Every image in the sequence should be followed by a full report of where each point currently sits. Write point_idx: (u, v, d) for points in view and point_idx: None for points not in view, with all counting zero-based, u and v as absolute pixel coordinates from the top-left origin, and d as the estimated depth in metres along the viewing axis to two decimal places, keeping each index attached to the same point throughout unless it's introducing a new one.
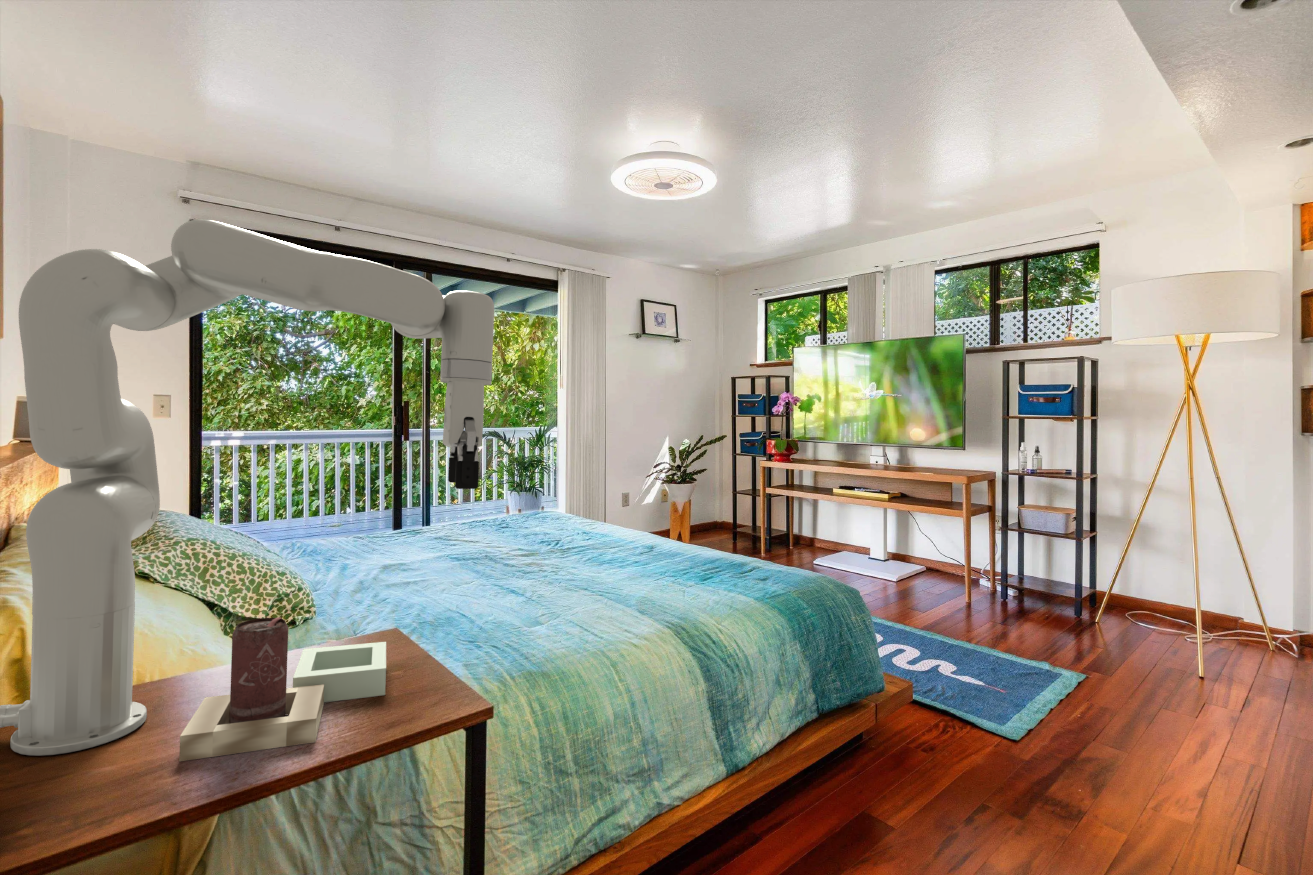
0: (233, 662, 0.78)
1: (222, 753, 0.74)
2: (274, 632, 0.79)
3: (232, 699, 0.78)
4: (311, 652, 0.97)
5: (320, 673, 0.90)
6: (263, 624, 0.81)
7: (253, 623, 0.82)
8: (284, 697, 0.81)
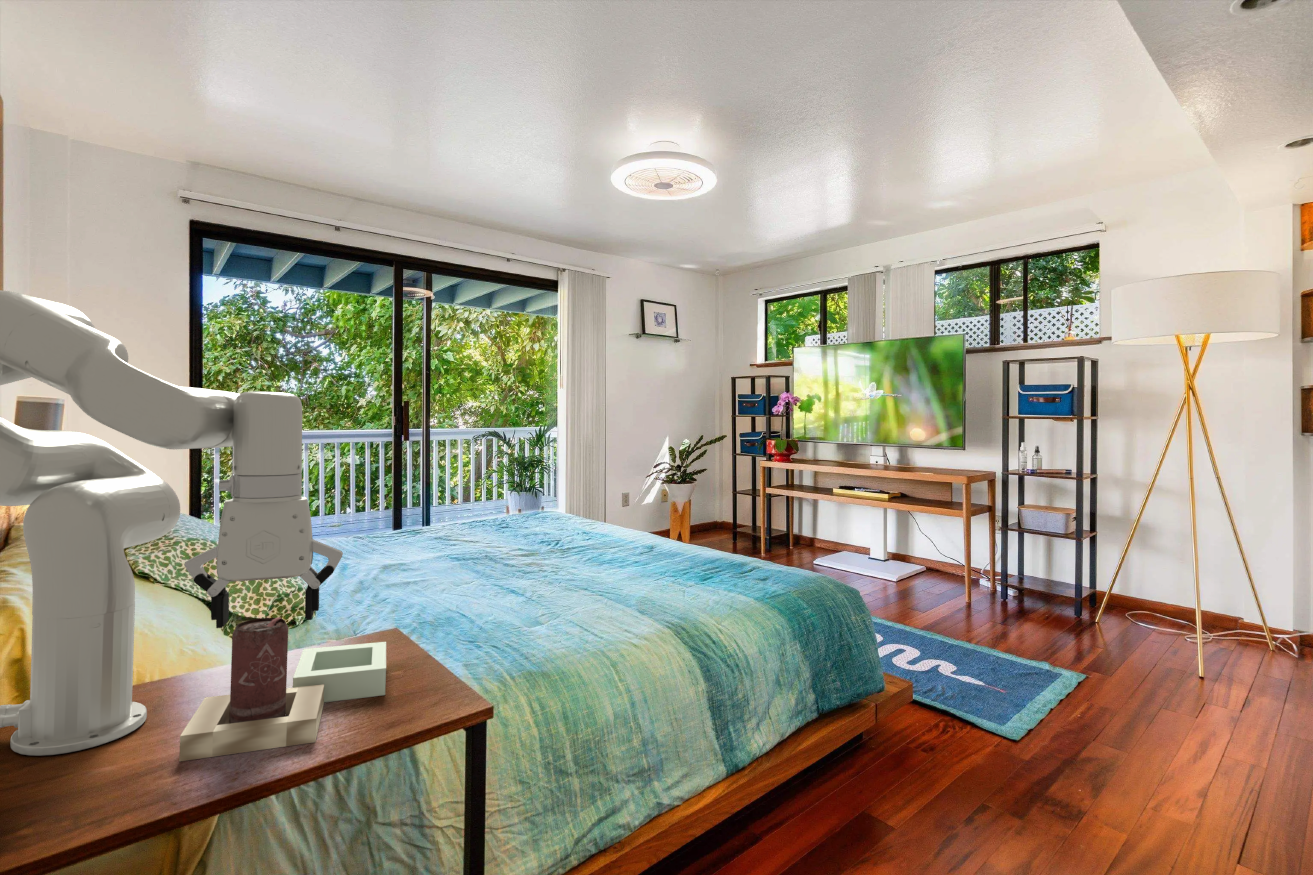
0: (233, 662, 0.78)
1: (222, 753, 0.74)
2: (274, 632, 0.79)
3: (232, 699, 0.78)
4: (311, 652, 0.97)
5: (320, 673, 0.90)
6: (263, 624, 0.81)
7: (253, 623, 0.82)
8: (284, 697, 0.81)
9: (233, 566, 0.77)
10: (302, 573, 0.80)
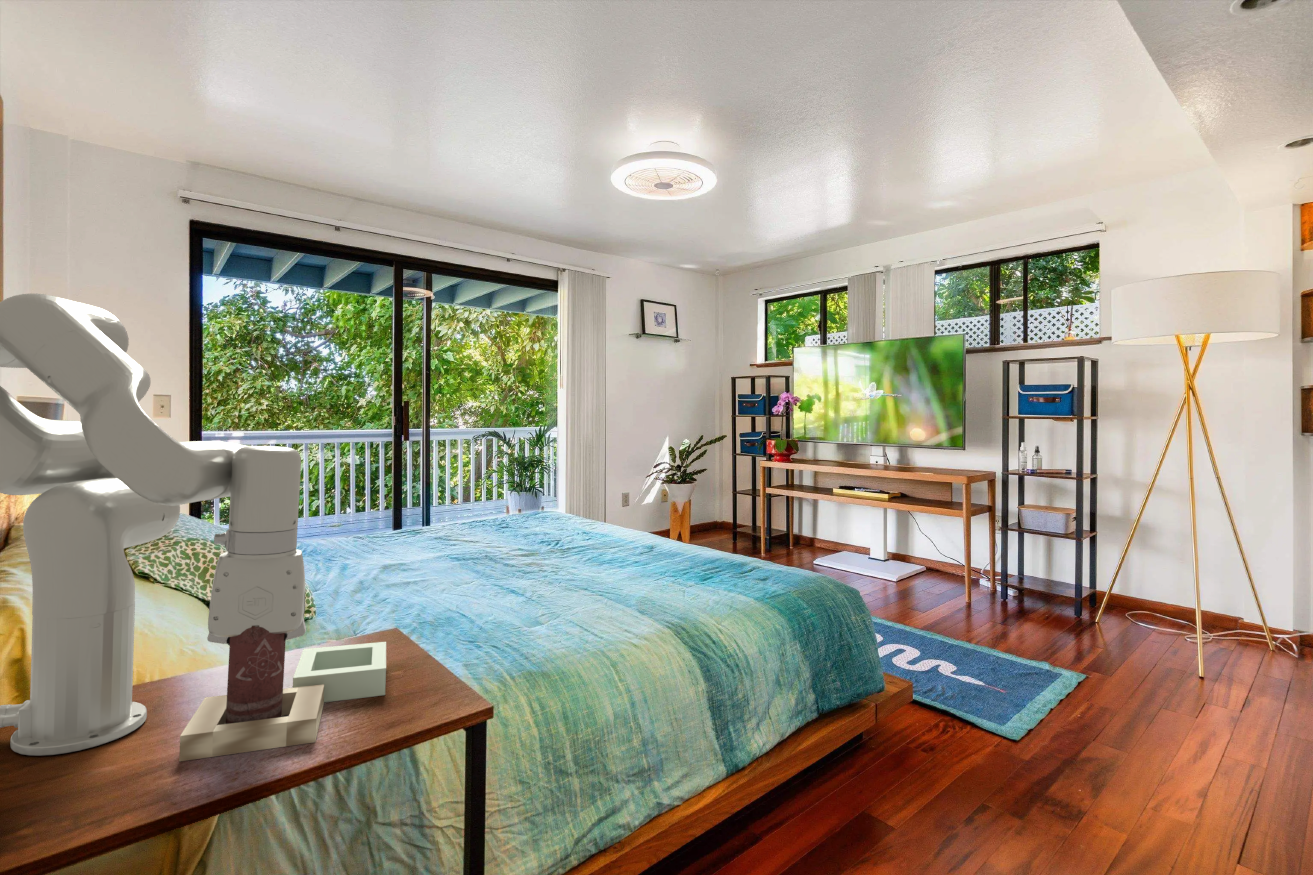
0: (231, 657, 0.78)
1: (222, 753, 0.74)
2: None
3: (229, 694, 0.78)
4: (311, 652, 0.97)
5: (320, 673, 0.90)
6: None
7: None
8: (281, 692, 0.81)
9: (224, 622, 0.77)
10: (293, 629, 0.80)
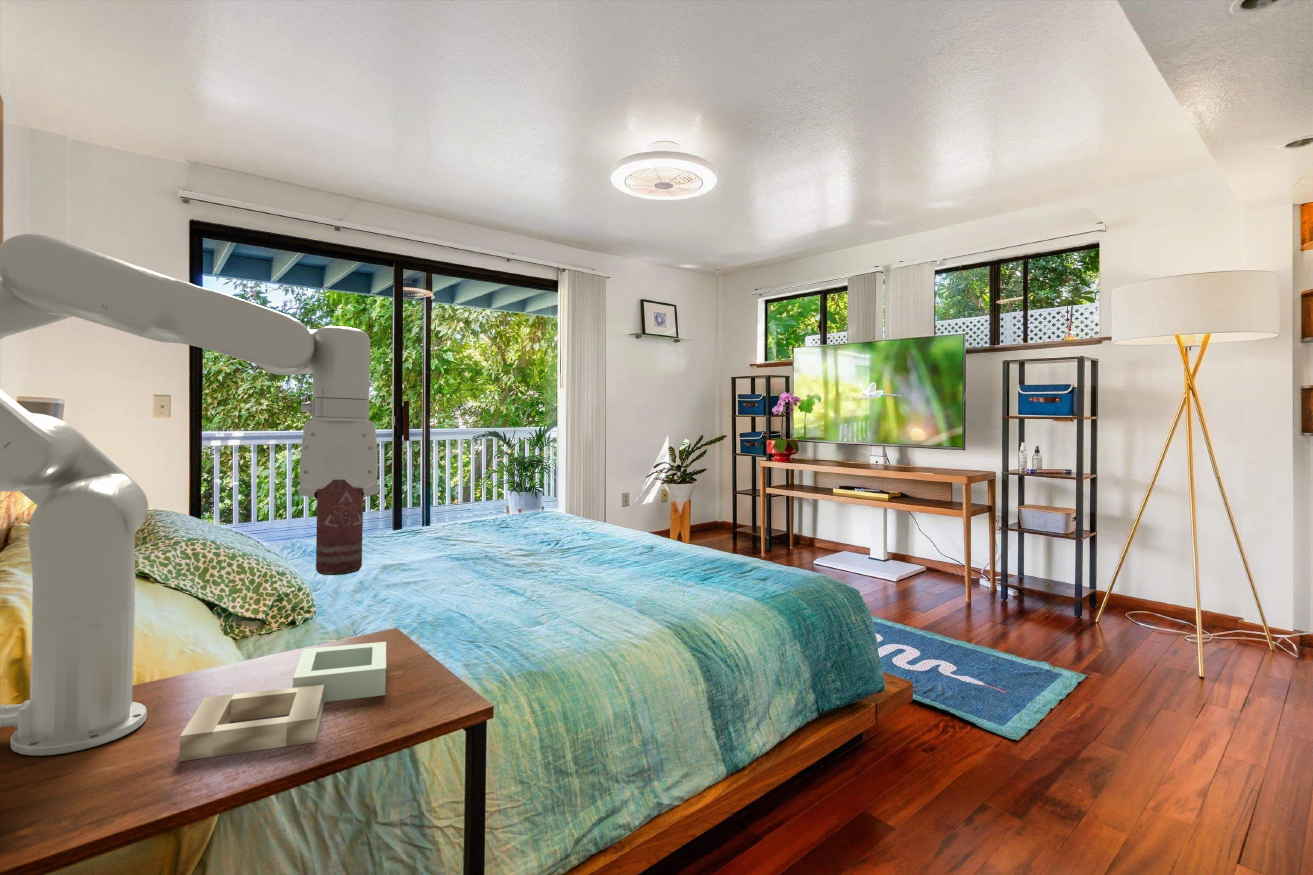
0: (319, 507, 0.90)
1: (222, 753, 0.74)
2: None
3: (318, 539, 0.91)
4: (311, 652, 0.97)
5: (320, 673, 0.90)
6: None
7: None
8: (361, 542, 0.94)
9: (313, 475, 0.89)
10: (370, 485, 0.92)
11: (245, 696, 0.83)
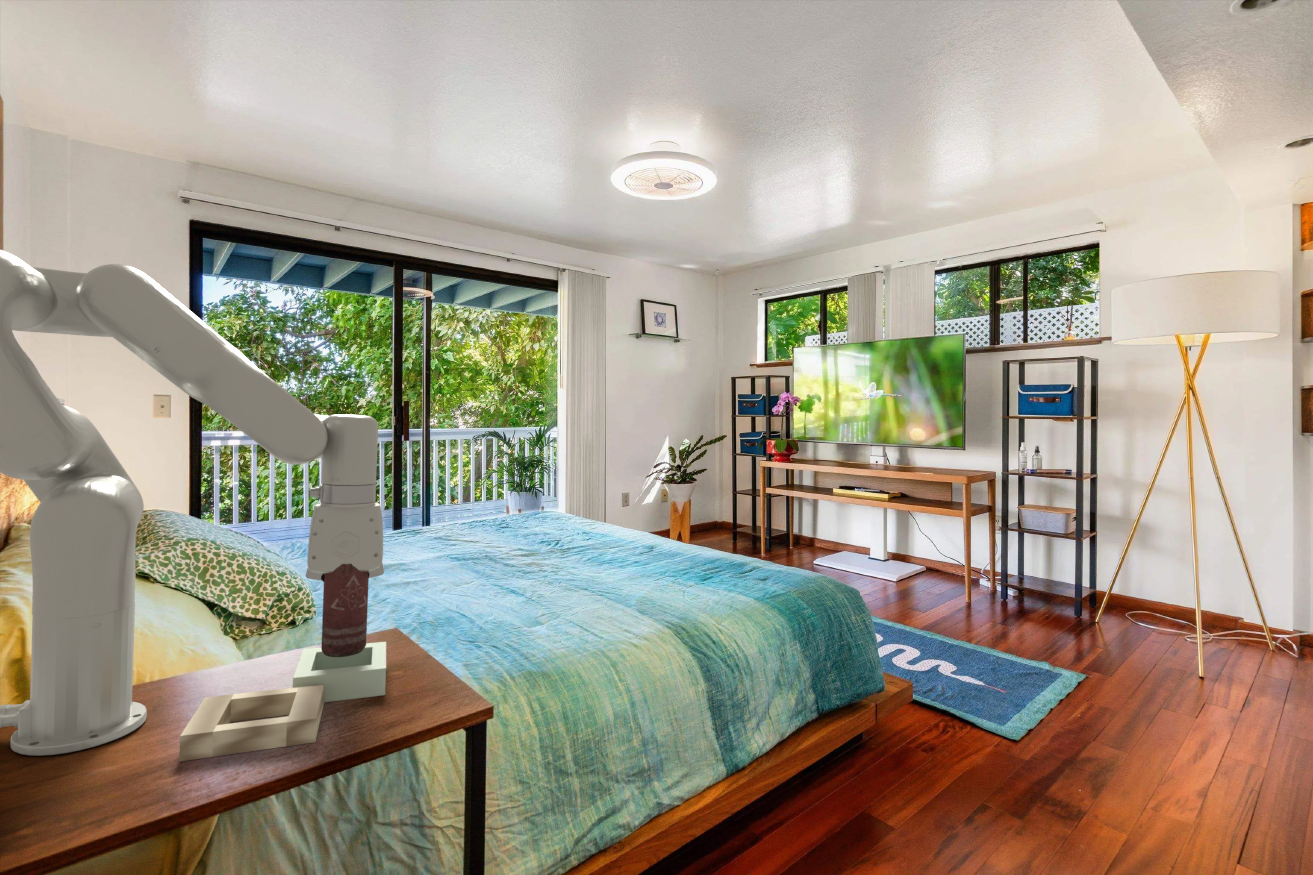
0: (326, 590, 0.93)
1: (222, 753, 0.74)
2: None
3: (325, 621, 0.93)
4: (311, 652, 0.97)
5: (320, 673, 0.90)
6: None
7: None
8: (366, 622, 0.96)
9: (321, 560, 0.92)
10: (376, 568, 0.95)
11: (245, 696, 0.83)
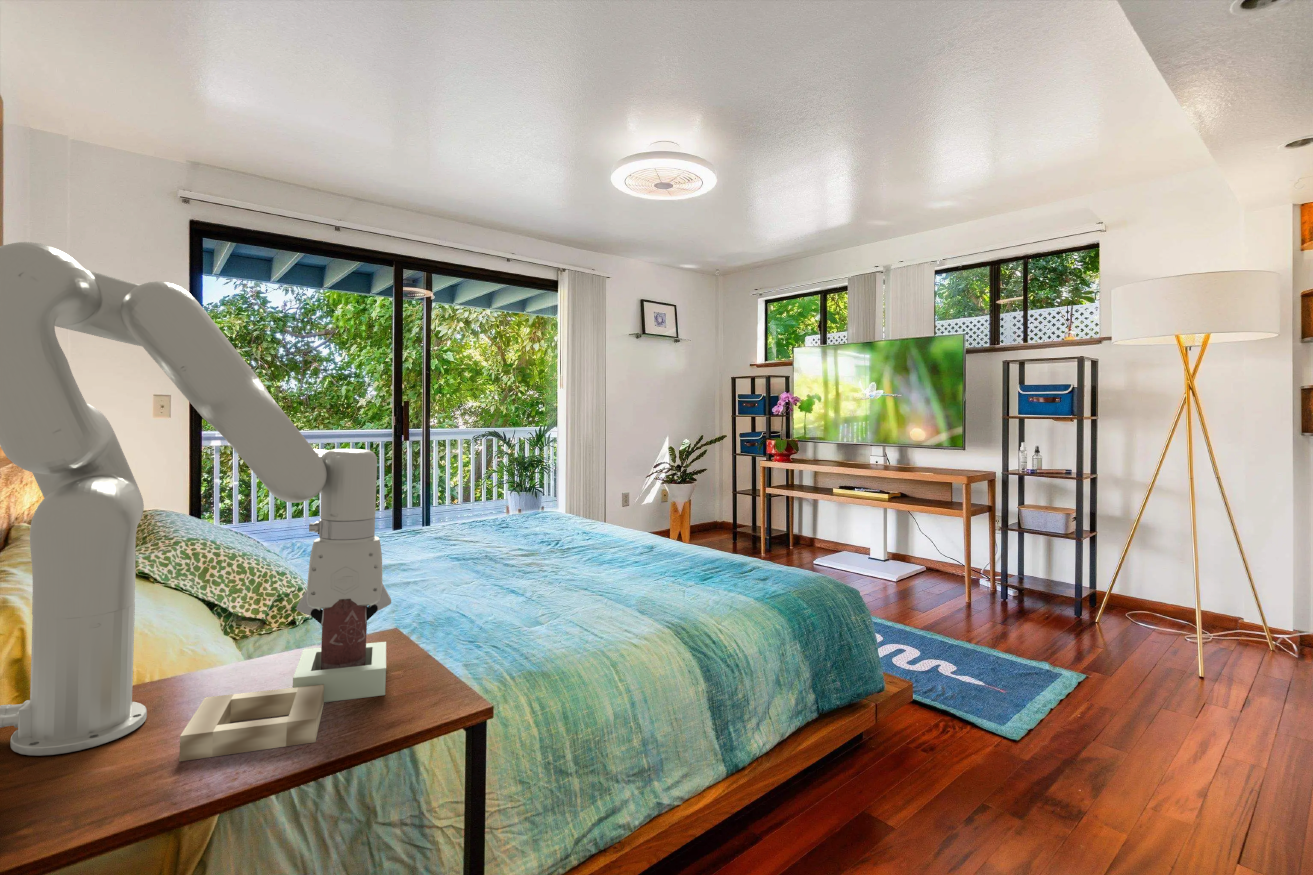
0: (324, 625, 0.93)
1: (222, 753, 0.74)
2: None
3: (323, 656, 0.93)
4: (311, 652, 0.97)
5: (320, 673, 0.90)
6: None
7: None
8: (364, 656, 0.96)
9: (320, 596, 0.92)
10: (375, 602, 0.95)
11: (245, 696, 0.83)
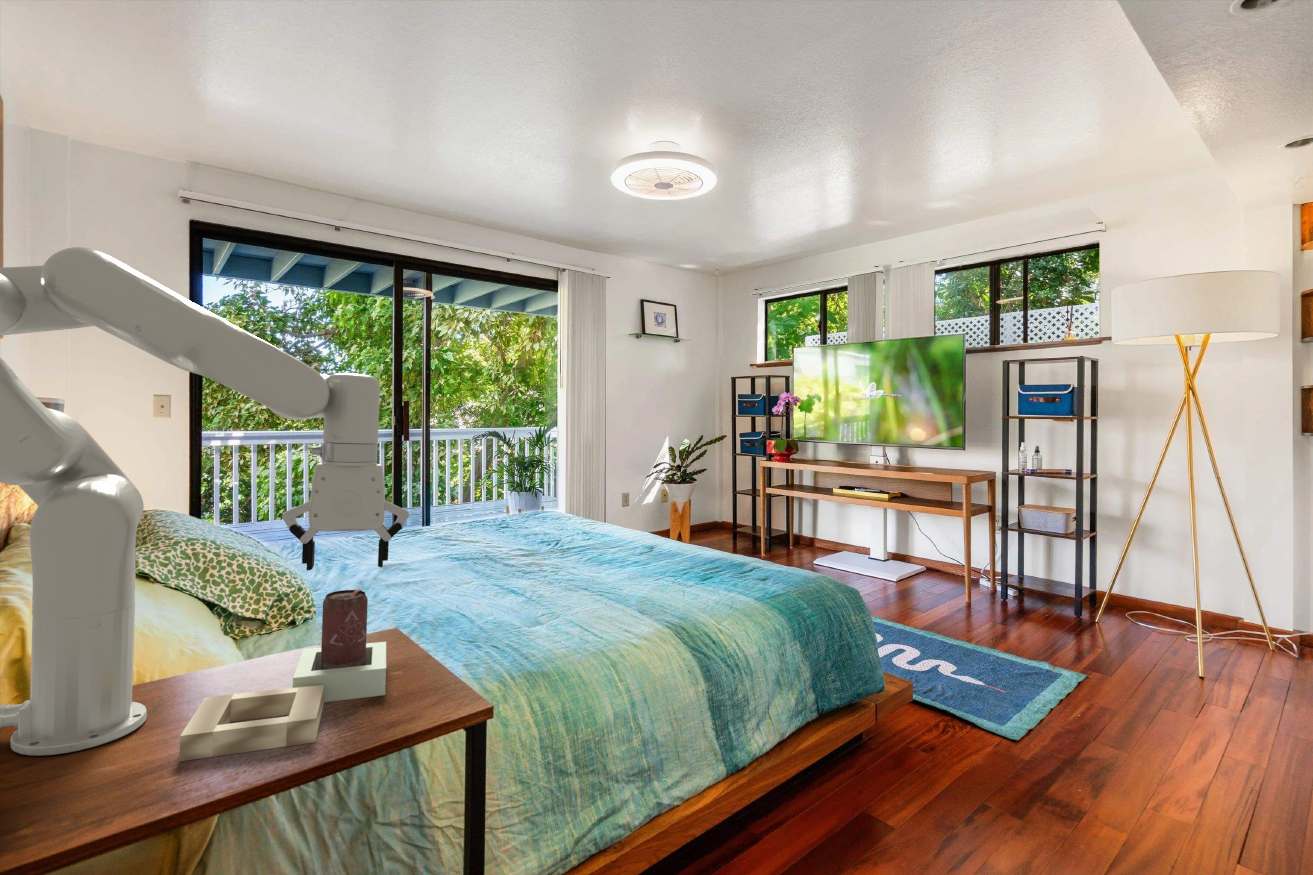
0: (324, 625, 0.93)
1: (222, 753, 0.74)
2: (358, 601, 0.94)
3: (323, 656, 0.93)
4: (311, 652, 0.97)
5: (320, 673, 0.90)
6: (347, 595, 0.96)
7: (338, 593, 0.97)
8: (364, 656, 0.96)
9: (322, 518, 0.92)
10: (377, 527, 0.95)
11: (245, 696, 0.83)
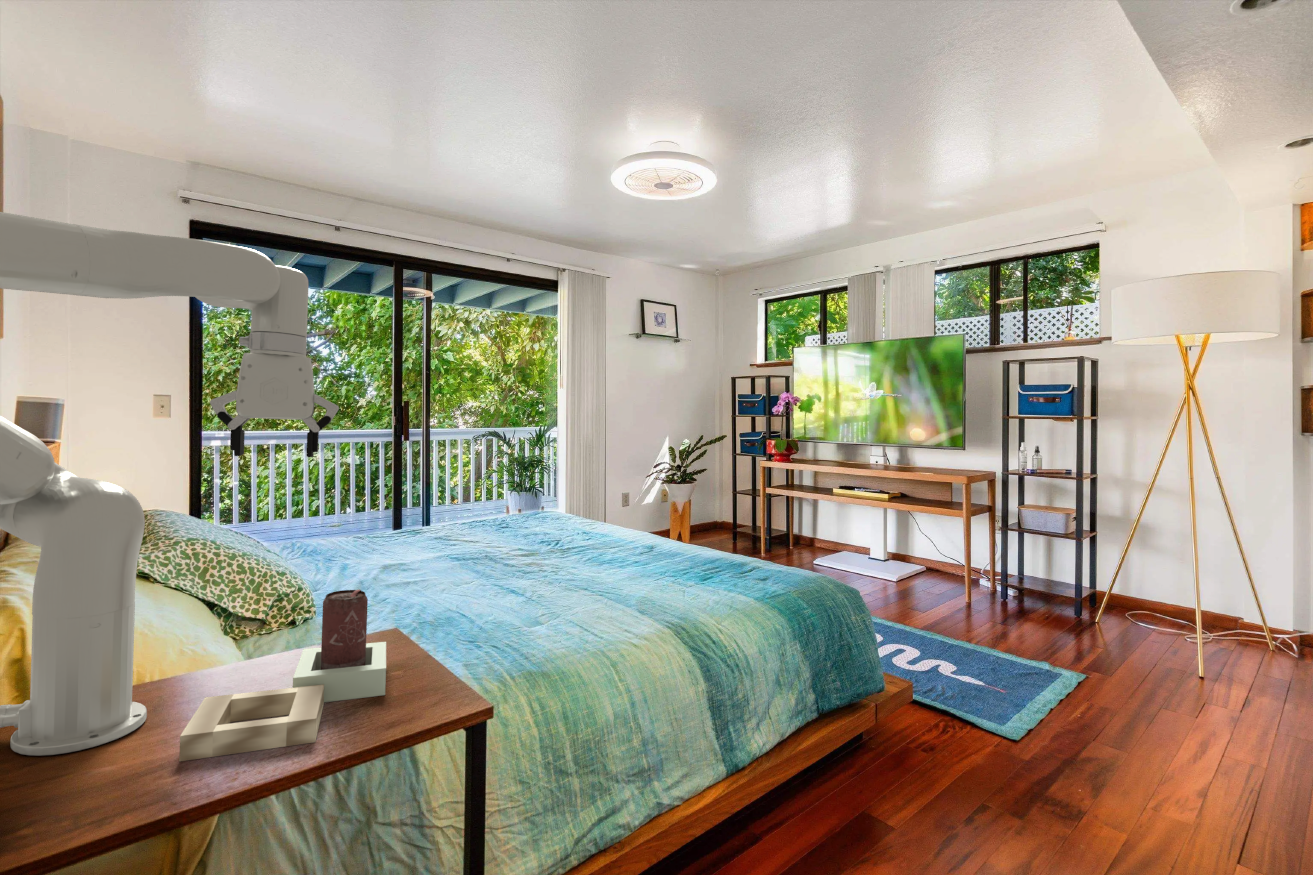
0: (324, 625, 0.93)
1: (222, 753, 0.74)
2: (358, 601, 0.94)
3: (323, 656, 0.93)
4: (311, 652, 0.97)
5: (320, 673, 0.90)
6: (347, 595, 0.96)
7: (338, 593, 0.97)
8: (364, 656, 0.96)
9: (249, 405, 0.94)
10: (305, 417, 0.98)
11: (245, 696, 0.83)
